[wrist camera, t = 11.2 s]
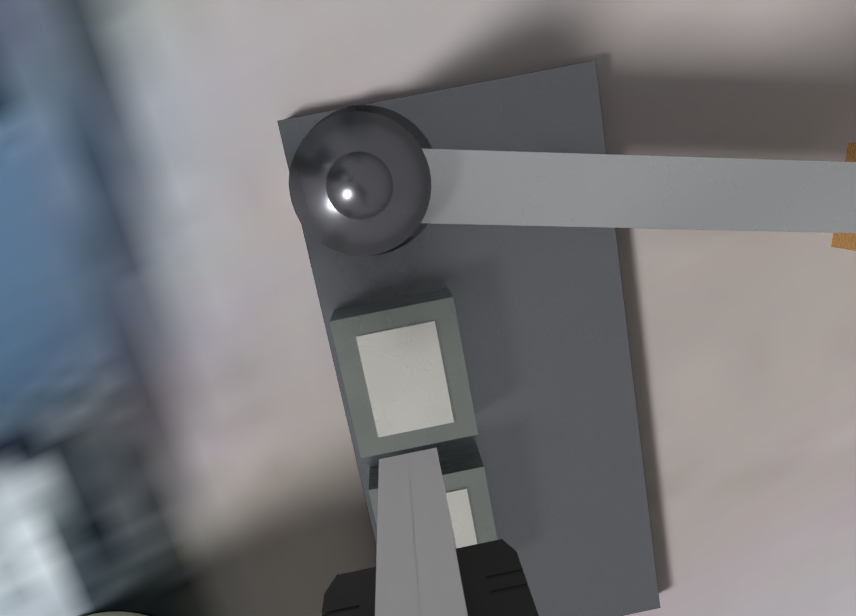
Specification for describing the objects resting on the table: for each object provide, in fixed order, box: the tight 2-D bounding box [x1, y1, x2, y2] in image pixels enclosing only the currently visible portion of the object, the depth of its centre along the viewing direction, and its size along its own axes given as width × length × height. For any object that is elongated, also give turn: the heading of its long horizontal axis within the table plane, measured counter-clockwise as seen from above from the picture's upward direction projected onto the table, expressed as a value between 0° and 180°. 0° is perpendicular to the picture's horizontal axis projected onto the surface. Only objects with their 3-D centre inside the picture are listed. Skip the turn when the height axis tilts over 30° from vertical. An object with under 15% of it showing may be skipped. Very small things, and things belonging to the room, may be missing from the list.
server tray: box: [278, 61, 660, 616], centre depth 27 cm, size 26×13×3 cm, turn 11°
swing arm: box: [289, 111, 856, 256], centre depth 22 cm, size 22×4×7 cm, turn 88°
